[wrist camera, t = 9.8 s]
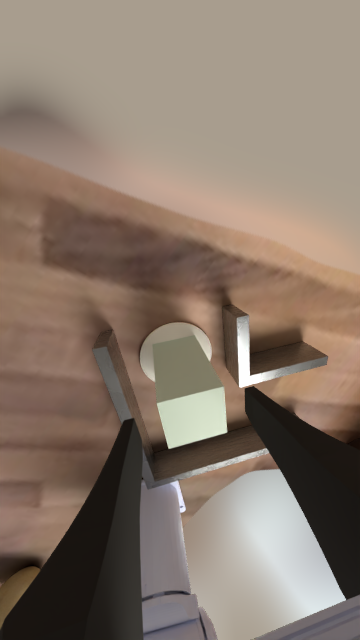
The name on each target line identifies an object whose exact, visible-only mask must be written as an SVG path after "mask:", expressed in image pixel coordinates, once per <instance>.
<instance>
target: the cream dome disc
mask: <svg viewBox="0 0 360 640" xmlns="http://www.w3.org/2000/svg"><path fill="white" fill-rule="evenodd" d="M193 335H195V337H196V338H197V340H198V342H199V344H200V345H201V347H202V349H203V351H204V352H205V354H206V356H207V358H208V359H209V361H210V359H211V354H212V349H211V344H210V341H209V339H208V337H207V336H206V334H205V333H204V332H203V331H202V330H201V329H200V328H198V327H196V326H195V325H192V324H190V323H185V322H173V323H168V324H165V325H162V326H160V327H158V328H156V329H155V330H154V331H152V332H151V333H150V334H149V335H148V336H147V338H146V339H145V341H144V342H143V345H142V347H141V351H140V363H141V367H142V369H143V371H144V373H145V374H146V375H147V376H148V377H149V378H150V379H151V380H152V381H154V382H155V372H154V358H153V344H156V343H161V342H165V341H170V340H174V339H179V338H184V337H188V336H193Z"/></svg>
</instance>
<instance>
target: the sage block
mask: <svg viewBox="0 0 360 640" xmlns="http://www.w3.org/2000/svg"><path fill="white" fill-rule="evenodd" d="M153 358H154V372H155V386H156V400H157V406H158V410H159V414H160V418H161V421H162V425H163V429H164V433H165V437H166V440H167V444H168V448H169V449H170V448H174V447H177V446H181V445H185V444H188V443H192V442H195V441H199V440H202V439H206V438H210V437H213V436H217V435H220V434H224V433H227V423H226V409H225V395H224V386H223V384H222V382H221V380H220V379H219V377H218V375H217V373H216V372H215V370H214V368H213V366H212V365H211V363H210V361H209V359H208V358H207V356H206V354H205V352H204V351H203V349H202V347H201V345H200V344H199V342H198V340H197V338H196V337H195V335H193V336H188V337H184V338H179V339H174V340H170V341H165V342H161V343H156V344H153Z"/></svg>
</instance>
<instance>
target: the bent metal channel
mask: <svg viewBox="0 0 360 640" xmlns="http://www.w3.org/2000/svg"><path fill="white" fill-rule="evenodd" d="M222 313H223V327H224V341H225V355H226V368H227V370H228V371H229V373H230V374H231V376H232V377H233V378H234V380H235V381H236V383H237V384H238V386H239V387H243V386H247V385H251V384H255V383H258V382H262V381H266V380H270V379H274V378H278V377H281V376H285V375H289V374H293V373H297V372H301V371H305V370H308V369H312V368H316V367H320V366H324V365H327V360H328V356H327V355H325V354H324V353H322V352H320V351H318V350H317V349H315V348H313V347H312V346H310V345H308V344H307V343H305V342H299V343H295V344H291V345H287V346H283V347H279V348H275V349H270V350H266V351H262V352H258V353H254V354H250V355H249V315H248V314H246V313H245V312H243V311H242V310H240V309H238V308H237V307H235V306H234V305H228V306H223V307H222ZM92 351H93V353H94V356H95V358H96V361H97V363H98V366H99V368H100V371H101V373H102V376H103V378H104V381H105V383H106V386H107V389H108V391H109V394H110V396H111V399H112V401H113V404H114V406H115V409H116V411H117V414H118V416H119V419H120V421H121V424H122V423H123V421H124V420H127V419H131V418H135V421H136V424H137V427H138V430H139V433H140V436H141V438H142V450H143V466H142V477H143V479H144V482H145V484H146V487H147V489H148V490H149V489H152V488H156V487H159V486H162V485H165V484H169V483H172V482H175V481H179V480H182V479H185V478H188V477H192V476H195V475H198V474H202V473H205V472H208V471H211V470H215V469H218V468H221V467H225V466H228V465H231V464H234V463H238V462H241V461H244V460H247V459H251V458H254V457H257V456H261V455H264V454H267V453H269V451H268V450H267V448H266V447H265V445H264V443H263V442H262V440H261V439H260V437H259V436H258V434H257V433H256V431H255V429H254V428H253V426H252V425H251V426H248V427H244V428H241V429H237V430H234V431H230V432H227V433H224V434H220V435H217V436H213V437H210V438H206V439H202V440H199V441H195V442H192V443H188V444H185V445H181V446H178V447H174V448H171V449H167V450H164V451H160V452H157V453H153V450H152V446H151V443H150V440H149V437H148V434H147V431H146V428H145V425H144V422H143V419H142V416H141V413H140V410H139V407H138V404H137V401H136V398H135V395H134V392H133V389H132V386H131V383H130V380H129V377H128V374H127V371H126V367H125V364H124V361H123V358H122V355H121V352H120V349H119V346H118V343H117V340H116V337H115V334H114V331H113V330H109V331H104V332H101V334H100V336H99V337H98V339H97V341H96V343H95V345H94V347H93V349H92ZM293 415H295V416H296V417H298V416H297V415H296V414H295V413H293ZM298 418H299V417H298Z"/></svg>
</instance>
